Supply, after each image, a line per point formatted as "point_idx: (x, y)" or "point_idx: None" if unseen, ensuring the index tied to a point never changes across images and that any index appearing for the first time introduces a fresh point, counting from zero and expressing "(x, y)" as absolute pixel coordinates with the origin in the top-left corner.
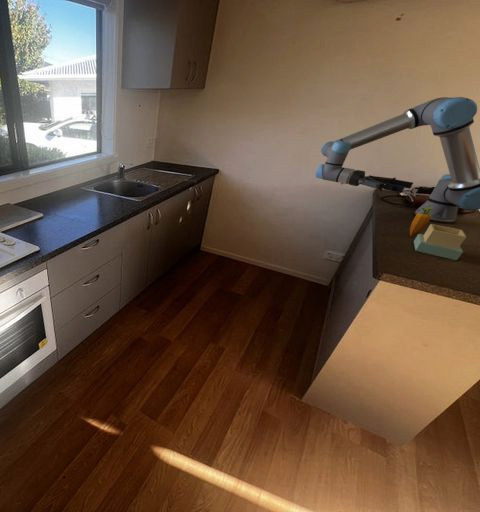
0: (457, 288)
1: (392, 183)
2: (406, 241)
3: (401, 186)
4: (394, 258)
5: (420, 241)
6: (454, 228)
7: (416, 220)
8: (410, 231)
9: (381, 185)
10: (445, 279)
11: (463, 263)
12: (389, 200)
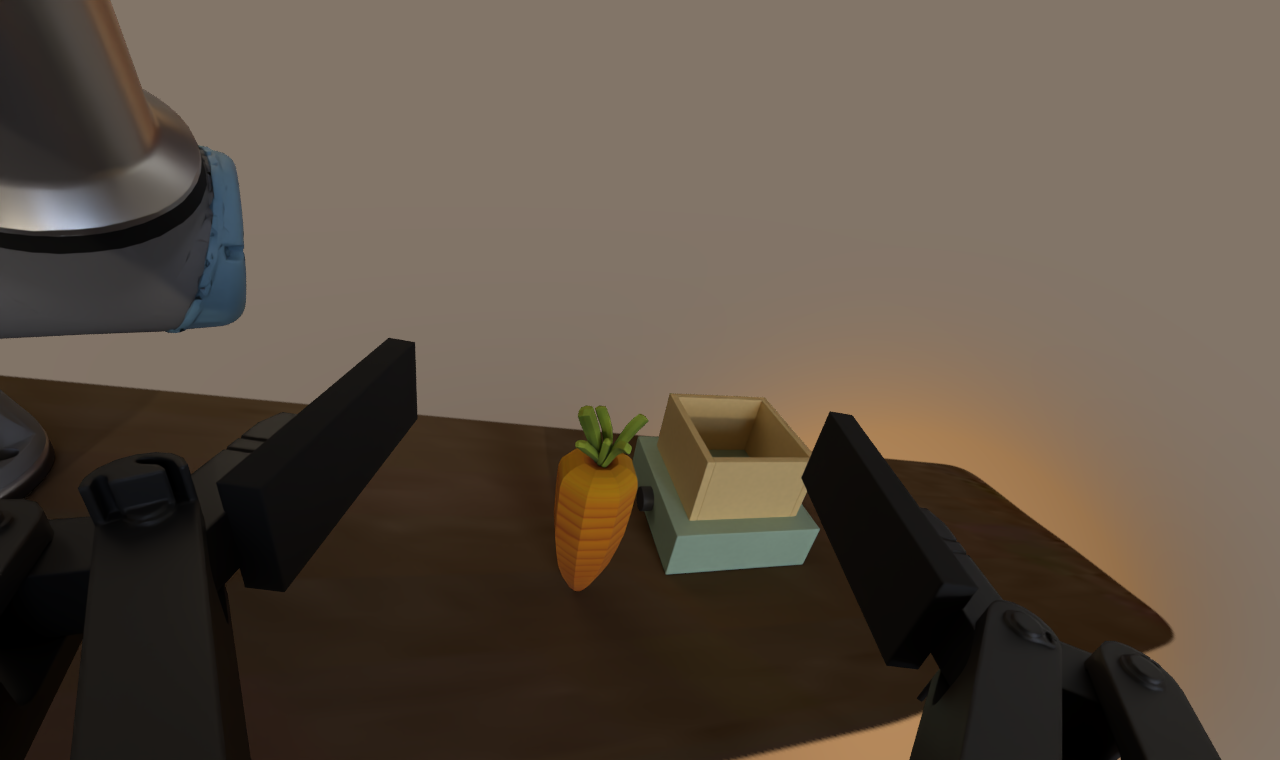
0: (973, 484)
1: (227, 574)
2: (701, 601)
3: (863, 435)
4: None
5: (806, 530)
6: (678, 407)
7: (624, 518)
8: (594, 578)
9: (1087, 657)
10: (955, 500)
11: None
12: None
